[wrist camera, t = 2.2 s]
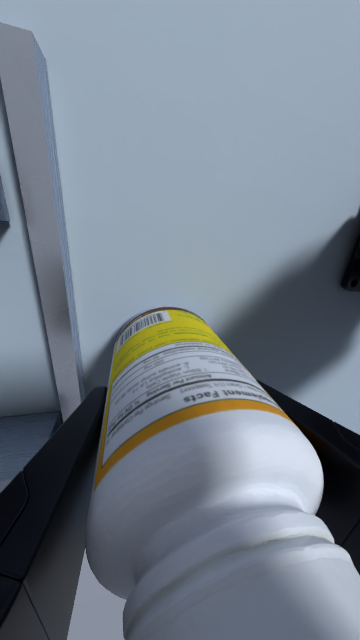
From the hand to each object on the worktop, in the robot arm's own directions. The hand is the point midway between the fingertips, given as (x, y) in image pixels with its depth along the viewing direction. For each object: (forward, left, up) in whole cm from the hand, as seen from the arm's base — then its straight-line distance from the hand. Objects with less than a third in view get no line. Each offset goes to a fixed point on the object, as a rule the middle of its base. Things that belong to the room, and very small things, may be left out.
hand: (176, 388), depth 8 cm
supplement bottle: (0, 0, -4) cm, 4 cm away
